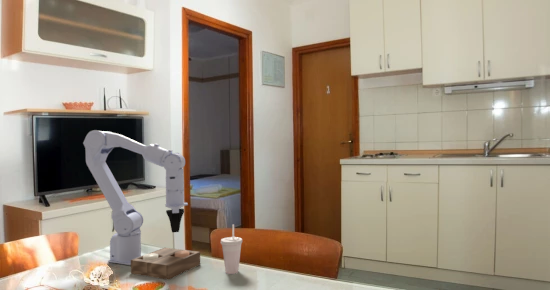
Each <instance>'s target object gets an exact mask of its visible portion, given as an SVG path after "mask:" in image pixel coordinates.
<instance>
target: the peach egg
mask: <svg viewBox="0 0 550 290" xmlns="http://www.w3.org/2000/svg"><path fill="white" fill-rule="evenodd" d="M189 251H190V250H189ZM189 251H178V252H175V257H182V258H184V257H187V256H189Z"/></svg>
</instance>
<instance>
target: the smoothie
mask: <svg viewBox="0 0 550 290" xmlns="http://www.w3.org/2000/svg"><path fill="white" fill-rule="evenodd" d="M231 225H232V228H231V229H232V233H231V236H229V237H227V236H226V237H224V238H223V237H222V238H221V239H220V245H221V247H222V249H221V250H222V255H223V262H224V268H225V269H224V271H225V273H226V274H227V275H236V274H238V273H239V268H240V261H241V249H242V243H243V238H241V237H238V236H235V224H231ZM235 273H236V274H235Z"/></svg>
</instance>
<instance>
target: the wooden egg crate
mask: <svg viewBox="0 0 550 290" xmlns="http://www.w3.org/2000/svg"><path fill="white" fill-rule="evenodd" d="M178 251H189V256H187V257H184V258H182V257H175V252H178ZM151 253H155V254H158V258H157V259H154V260H152V261H150V260H143V255H141V256H140V257H138V258H135V259H132V260H131V265H130V274H131V275H138V276H143V277H144V276H145V277H150V278H156V279H161V280H162V279H163V280H167V281H169V280H171V279H173V278H175V277H178V276H180V275H181V274H184V273H186V272H188V271H190V270H193V269H194V268H196V267H198V266H201V251H196V250H188V249H179V248H171V247H162V248H160V249H157V250H155V251H152V252H149V253H148V254H151Z"/></svg>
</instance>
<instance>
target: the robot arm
mask: <svg viewBox="0 0 550 290" xmlns="http://www.w3.org/2000/svg"><path fill="white" fill-rule="evenodd" d="M82 144H83V146H84V148H85V149H84V150H85V163H86V166H87V167H88V170H89V171H90V173H91V174H92V177H93V178H94V180H95V181H96V184H97V185H98V187H99V189H100V190H101V193H102V194H103V197H104V198H105V200H106V202H107V204H108V205H109V207H110V209H111V210H112V212H111V219H112V221H113V229H114V230H115V232H116V233H114V234H113V235H112V236H111V238H110V241H109V259H108V260H107V262H108V263H114V264H120V265H126V266H131V260H132V259H135V258H138V257H140V256H142V230H141V227H142V226H143V223H144V216H143V215H142V214H141V212H139V211H138V210H136V208H135V206H134V205H132V204H131V203H130V202H128V200H127V198H126V196H125V195H124V193H123V191H122V189H121V187H120V186H119V183H118V181H117V180H116V178H115V176H114V175H113V173H112V171H111V169H110V168H109V166H108V164H107V162H106V161H107V158H108V156H109V154H110V153H111V152H112V151H113V149H115V148H122V149H126V150H129V151H131V152H133V153H137V154H139V155H142V157H143V159H144V160H145V161H146V162H148V163H152V164H154V165H156V166H159V167H162V168H164V170H165V204H164V205H165V208H168V209H167V210H166V211H165V213H166V216H167V217H168V220H169V223H170V229H171V233H180V229H181V222H182V218H183V216H184V213H185V209H184V208H183V207H185V206H189V204H188V202H185V180H184V179H185V178H184V167H185V165H186V159H185V157H184V155H182V154H181V153H179V152H173V150H172V149H166V148H164V147H161V146H160V144H158V143H150V144H148V145H146V144H144V143H141V142H138V141H136V140H134V139H131V138H130V137H127V136H125V135H123V134H121V133H120V134H119V133H118V132H117V133H116V132H112V131H110V130H109V131H108V130H107V131H104V130H103V131H102V130H97V129H94V130H90V131H89V132H88V133H87V134H86V136H85V138H84V140H83V142H82Z"/></svg>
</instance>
